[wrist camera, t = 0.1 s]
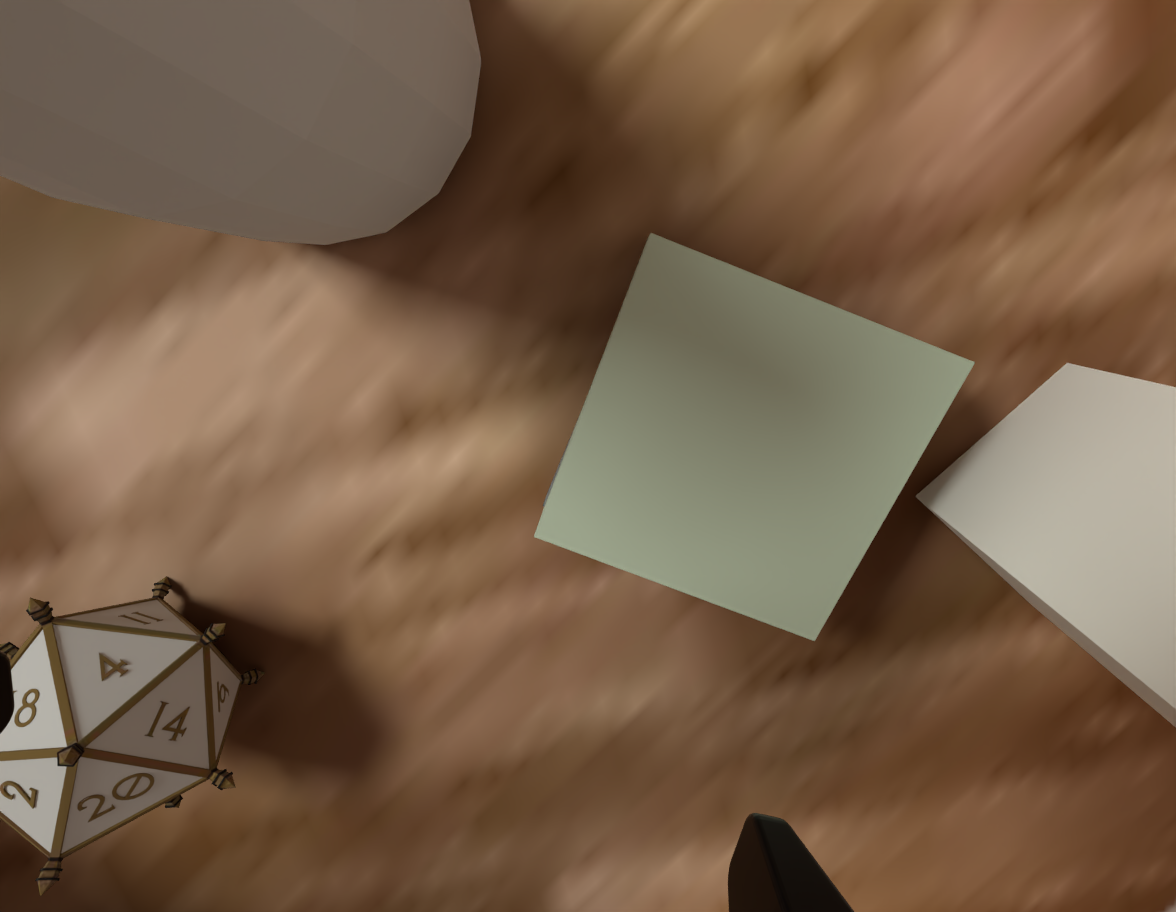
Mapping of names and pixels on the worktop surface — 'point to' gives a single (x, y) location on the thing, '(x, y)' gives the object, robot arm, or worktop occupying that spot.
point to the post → (1082, 517)
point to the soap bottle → (239, 109)
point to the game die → (111, 721)
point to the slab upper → (744, 439)
